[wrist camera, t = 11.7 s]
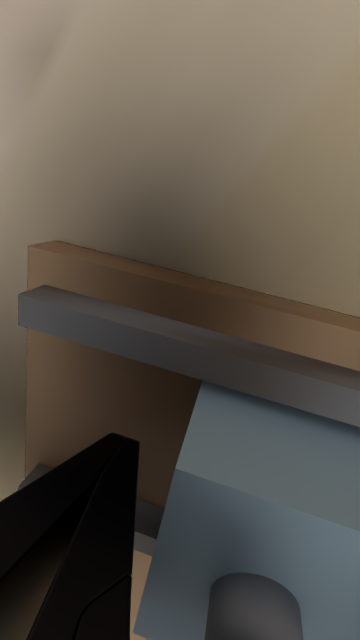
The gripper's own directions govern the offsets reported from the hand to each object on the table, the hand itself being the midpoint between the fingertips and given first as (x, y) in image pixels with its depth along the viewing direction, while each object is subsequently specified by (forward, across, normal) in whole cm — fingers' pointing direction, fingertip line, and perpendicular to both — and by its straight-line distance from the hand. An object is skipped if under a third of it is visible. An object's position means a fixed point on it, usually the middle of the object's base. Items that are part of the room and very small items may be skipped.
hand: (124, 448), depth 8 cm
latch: (+1, -3, 0) cm, 4 cm away
